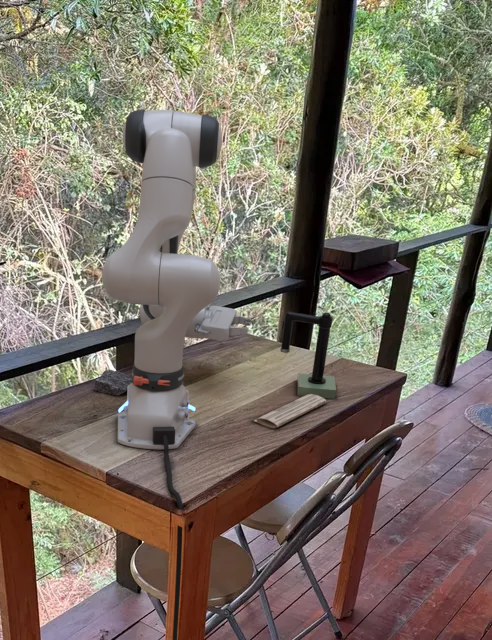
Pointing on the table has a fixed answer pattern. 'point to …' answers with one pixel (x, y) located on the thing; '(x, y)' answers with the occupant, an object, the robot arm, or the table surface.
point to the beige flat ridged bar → (291, 411)
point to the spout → (322, 321)
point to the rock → (113, 382)
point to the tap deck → (316, 386)
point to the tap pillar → (320, 356)
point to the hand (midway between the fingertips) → (249, 326)
